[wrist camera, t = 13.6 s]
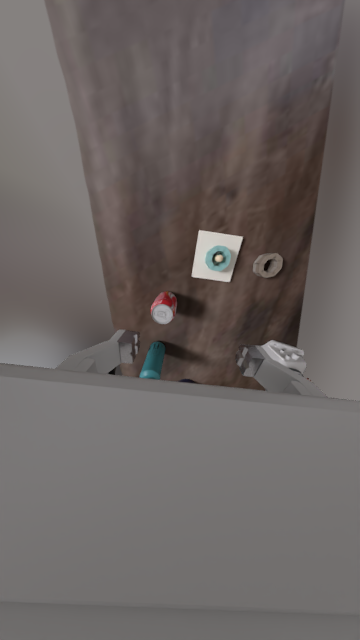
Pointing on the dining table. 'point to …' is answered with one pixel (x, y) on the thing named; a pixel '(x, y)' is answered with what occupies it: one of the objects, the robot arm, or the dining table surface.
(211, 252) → the teal ring
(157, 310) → the soda can
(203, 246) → the post stand
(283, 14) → the dining table surface
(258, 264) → the grey ring
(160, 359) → the beverage bottle
